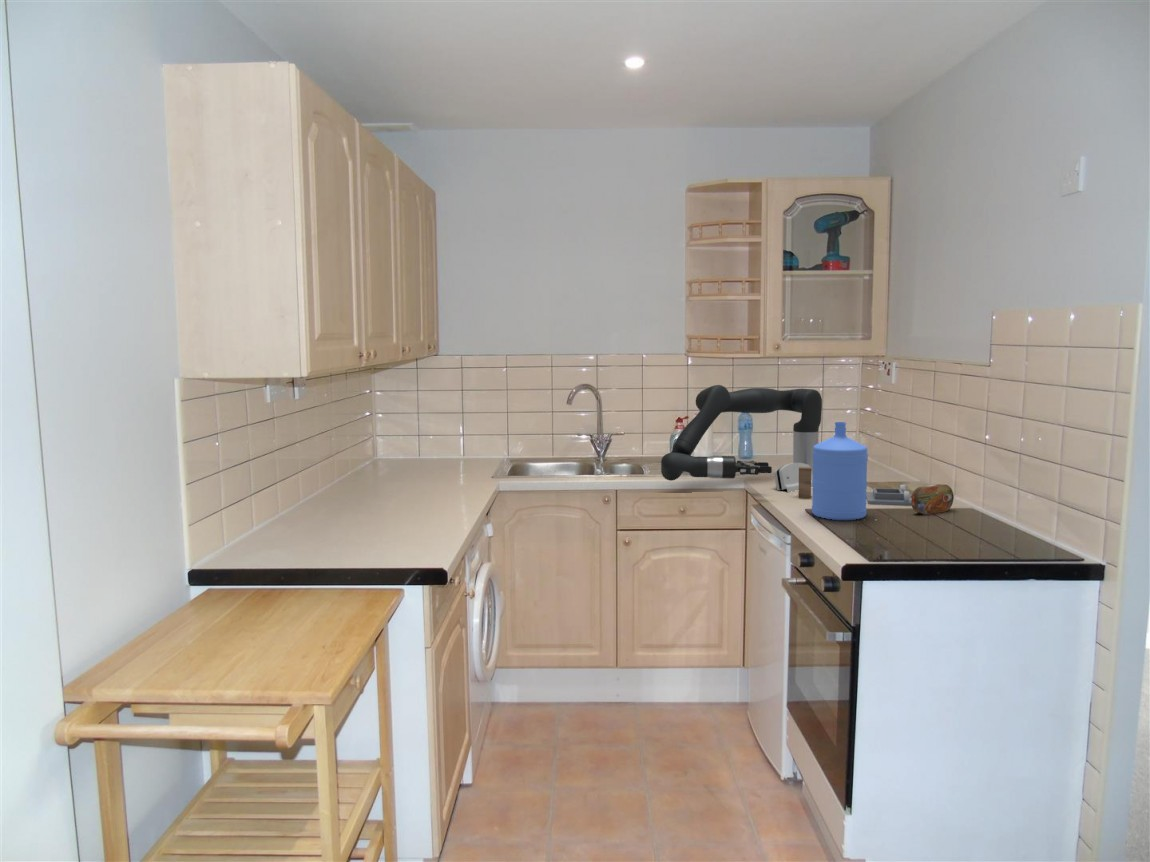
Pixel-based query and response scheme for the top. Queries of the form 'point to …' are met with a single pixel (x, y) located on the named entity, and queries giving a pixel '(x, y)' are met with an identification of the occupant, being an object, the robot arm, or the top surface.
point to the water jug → (839, 477)
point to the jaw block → (804, 482)
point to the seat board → (889, 496)
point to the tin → (932, 499)
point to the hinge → (789, 476)
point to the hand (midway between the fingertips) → (769, 467)
